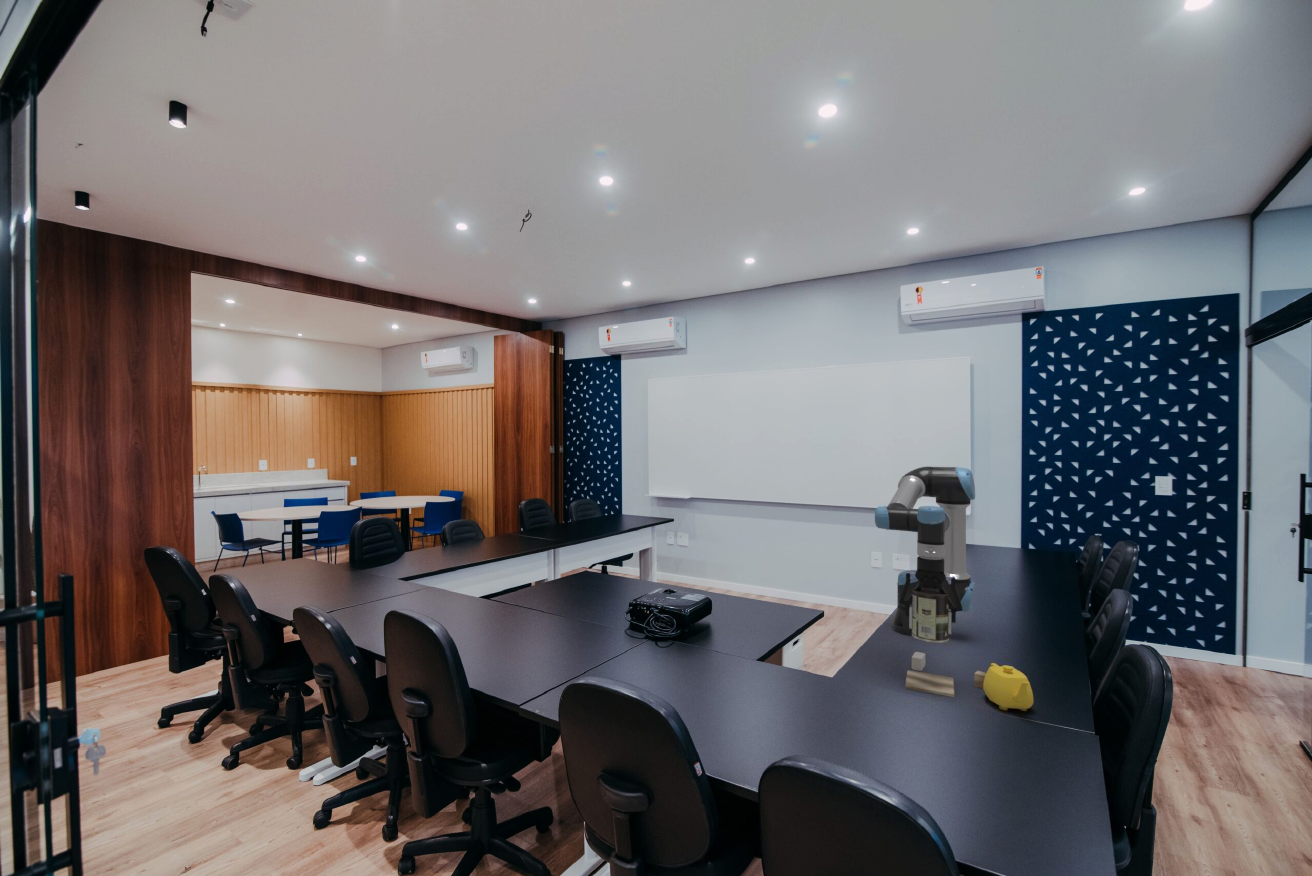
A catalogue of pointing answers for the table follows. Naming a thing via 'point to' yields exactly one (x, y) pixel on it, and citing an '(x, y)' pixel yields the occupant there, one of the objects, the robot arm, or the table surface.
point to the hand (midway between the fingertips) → (929, 630)
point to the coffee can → (930, 615)
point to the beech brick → (979, 679)
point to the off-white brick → (918, 661)
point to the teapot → (1008, 688)
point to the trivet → (930, 683)
